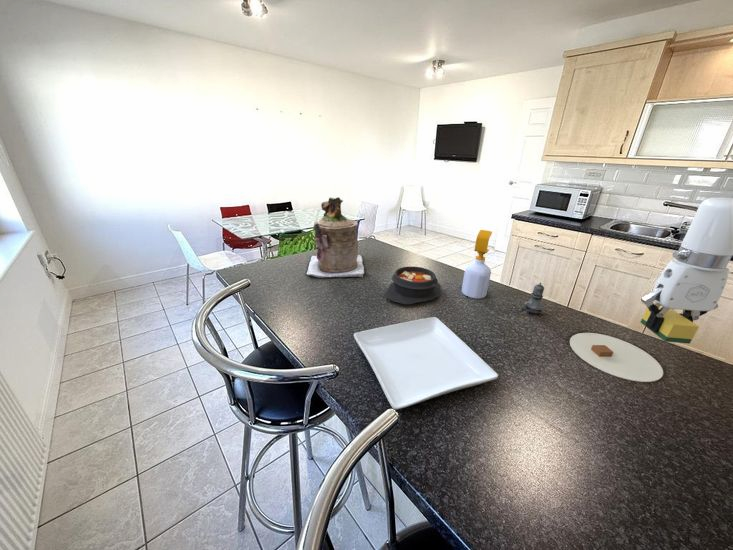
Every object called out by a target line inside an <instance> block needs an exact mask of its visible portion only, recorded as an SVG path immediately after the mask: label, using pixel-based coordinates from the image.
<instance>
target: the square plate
mask: <svg viewBox="0 0 733 550" xmlns="http://www.w3.org/2000/svg"><path fill="white" fill-rule="evenodd" d="M353 338H354V341H356V343H357V345H358V347H359V348H360V350H361V351H362V353H363V355H364V356H365V358H366V360H367V362H368V363H369V365H370V367H371V369H372V371H373V373H374V374H375V377H376V379H377V381H378V382H379V385H380V387H381V389H382V391H383V393H384V395H385V397H386V400H387V402H388V403H389V405H390V406H391V409H393V410H401V409H404V408H407V407H410V406H414V405H416V404H419V403H422V402H426V401H427V400H430V399H434V398H437V397H439V396H442V395H446V394H449V393H452V392H455V391H459V390H463V389H466V388H470V387H475V386H477V385H481V384H482V385H483V384H485V383H488V382H491V381H494V380H496V379H498V377H499V374H498V372H496V370H494V369H493V368H492V367H490V365H489V364H488V363H486V362H485V361H484V359H482V358H481V357H480V356H479V355H478V354H477V353H476V352H475V351H474V350H473V349H472V348H470V346H469V345H467V344H466V343H465V342H464V341H463V340H462V339H461V338H460V337H459V336H458V335H457V334H455V333H454V332H453V331H452V330H451V329H450V328H449V327H448V326H447V325H446V324H445V323H443V321H442V320H440V319H439V318H438V317H435V316H432V317H427V318H426V317H425V318H421V319H414V320H409V321H405V322H404V321H403V322H400V323H395V324H389V325H386V326H385V325H384V326H380V327H376V328H370V329H367V330H366V329H365V330H361V331H358V332H354V333H353Z"/></svg>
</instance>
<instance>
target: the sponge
mask: <svg viewBox="0 0 733 550" xmlns="http://www.w3.org/2000/svg"><path fill="white" fill-rule="evenodd" d="M661 308H662V306H660V307H659V308H658V309H659V310H660V309H661ZM679 313H680V312H679ZM679 313H678V312H677V311H675V309H669V310H668V311H667V312H666V313H665V315H664V316H663V318H665V319H664V321H663V323H662V325H661V327H660V329H659V331H658V332H653V331H652V330H650V329H649V328H648V327H647V326H646V322H647V320H648V318H649V316H650V314H651V312H650V311H649V309H648V308H647V307H646V309H645V311H644V313H643V316H642V318H641V320H640V323H641V325H643V326H644V327H646V328H647V329H648V330H650V332H652V333H654V334H655V335H656V336H657V337H658V338H660V339H661V340H662V341H663V342H665V343H666V342H667V343H679V344H689V345H690V344H691V342H692V341H693V339H694V337H695V335H696V333H697V332H698V330H699V329H700V326H699V325H698V324H696V323H694V321H693V322H691V321H690V320H688V319H687V318H685V317H683V316H682V315H680V314H679Z"/></svg>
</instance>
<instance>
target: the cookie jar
mask: <svg viewBox="0 0 733 550" xmlns="http://www.w3.org/2000/svg"><path fill="white" fill-rule="evenodd" d="M343 202H344V200H343V199H341V198H340V197H338V196H337V197H328V200H327V201H323V202H321V205H320V207H321V210H322V211H324V213H323V216H322V217H321V218H320V219H319V220H317V221H316V222H314V223H313V231H314V236H315V239H313V243H314V244H315V245H316V246H317V250H316V251H317V252H316V255H311V256H310V261H309V262H308V263H309V264H308V268H307V272H306V276H311V277H314V278H315V277H316V278H319V279H321V278H364V274H365V270H364V269H365V267H364V264H363V257H362V255H360V254H359V242H358V235H357V234H358V233H357V228H358V226H359V223H358V221H356V220H353V219H349V218H347V217H346V216H345V215H343V214H342V207H341V205H342V203H343Z"/></svg>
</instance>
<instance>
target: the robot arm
mask: <svg viewBox="0 0 733 550" xmlns="http://www.w3.org/2000/svg"><path fill="white" fill-rule="evenodd" d="M671 256H672V258H674V259H671V260H670V261H669V262H668V264H667V265H666V266H665V267H664V269H663V270H662V272H661V273H660V275H659V277H658V278H657V280H656V282H655V284H654V286H653V288H652V290H651V291H650V292H649V293H647V294H646V295H644V296H643V297H641V298H640V301H641V303H643V304H644V305H645V306H646V309H647V308H648V309H649V311H650V312H651V314H650V316H649V318H648V320H647V322H646V326H647V327H648V328H649V329H648V328H647V327H646V326H645V327H646V328H647V329H648V330H649V331H651V330H652V331H653V332H658V331H659V329H660V327H661V325H662V323H663V321H664V319H665V318H663V316H664V315H665V313H666V312H667V311H668V310H669V309H672V310H680V311H681V310H682V312H679V314H680V315H682V316H683V317H685V318H687V319H688V320H690V321H691V322H693V323H694V321H698V320H699V319H700V317H701V316H704V315H705V314H707V313H708V312H711V311H713V310H716V309H718V308H719V304H718V302H719V301H720V298H721V296H722V295H723V292H724V289H725V287H726V285H727V282H728V278H729V271H730V269H729V268H728V267H727V266H728V265H729V263H730V261H731V259H732V257H733V197H732V198H731V197H715V196H714V197H709V198H706V199H704V200H703V201H701V202H700V204H699V206H698V208H697V210H696V212H695V214H694V216H693V219H692V221H691V223H690V225H689V227H688V229H687V232H686V234H685V236H684V237H683V240H682V242H681V244H680V246H679V248H678V249H677V251H673V252H672V255H671ZM654 301H655V302H654ZM659 307H661V309H660V310H659V309H658V308H659ZM652 331H651V332H652ZM653 332H652V333H653Z"/></svg>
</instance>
